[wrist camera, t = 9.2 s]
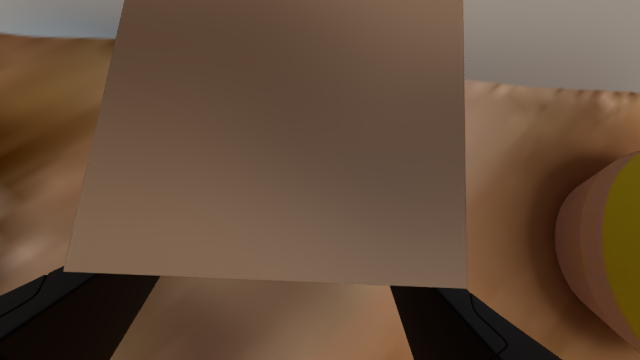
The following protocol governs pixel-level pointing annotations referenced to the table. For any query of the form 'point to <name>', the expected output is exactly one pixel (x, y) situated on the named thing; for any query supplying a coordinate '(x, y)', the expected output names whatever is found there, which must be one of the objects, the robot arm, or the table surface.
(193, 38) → the post
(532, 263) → the table surface
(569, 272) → the vase
